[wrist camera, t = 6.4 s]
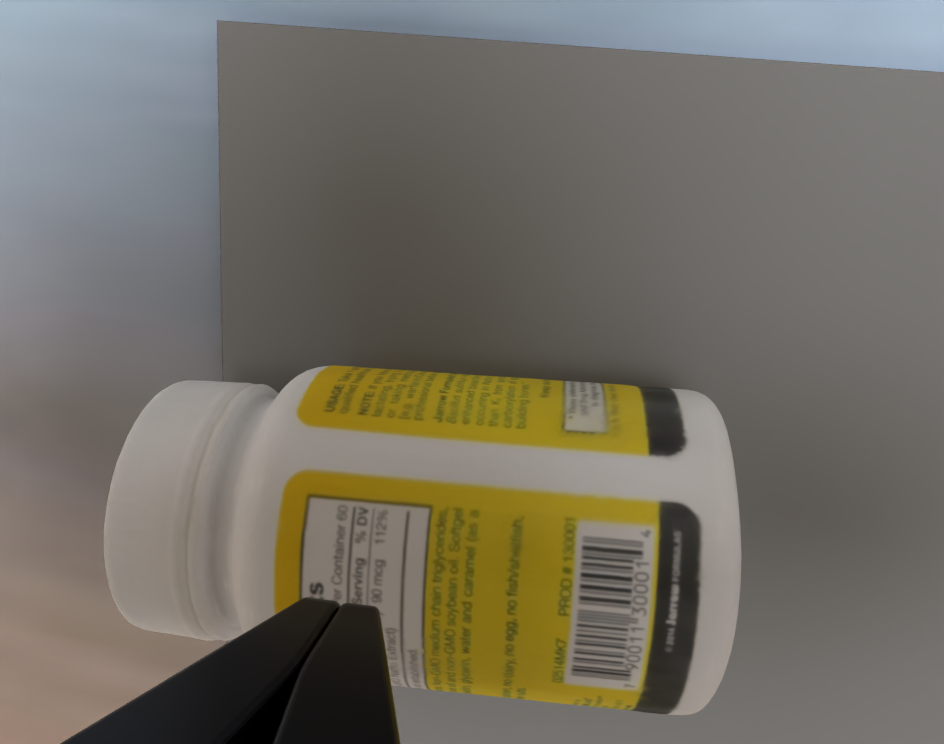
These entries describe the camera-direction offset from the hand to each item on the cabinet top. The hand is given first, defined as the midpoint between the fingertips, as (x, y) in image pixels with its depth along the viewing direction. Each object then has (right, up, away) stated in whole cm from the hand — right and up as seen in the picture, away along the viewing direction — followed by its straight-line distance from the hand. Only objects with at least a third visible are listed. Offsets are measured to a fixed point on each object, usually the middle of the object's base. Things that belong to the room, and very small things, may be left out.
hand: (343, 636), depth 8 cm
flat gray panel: (+7, +1, +5) cm, 8 cm away
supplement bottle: (+5, 0, +3) cm, 6 cm away
